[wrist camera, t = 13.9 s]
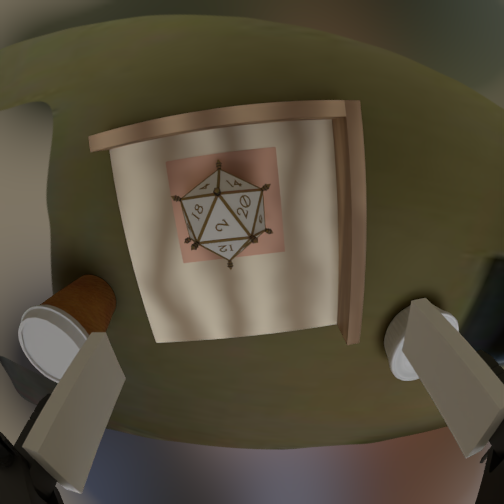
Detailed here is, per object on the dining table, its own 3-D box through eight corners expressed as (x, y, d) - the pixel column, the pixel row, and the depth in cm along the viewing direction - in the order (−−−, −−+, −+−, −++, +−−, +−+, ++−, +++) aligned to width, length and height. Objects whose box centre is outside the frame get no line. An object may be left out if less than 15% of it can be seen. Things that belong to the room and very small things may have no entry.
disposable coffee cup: (85, 246, 32) (29, 293, 21) (142, 299, 34) (108, 364, 23) (54, 293, 34) (7, 344, 23) (105, 339, 37) (71, 400, 25)
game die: (218, 183, 33) (203, 126, 23) (286, 217, 32) (296, 166, 22) (173, 250, 31) (137, 212, 21) (243, 292, 29) (234, 268, 20)
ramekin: (436, 280, 35) (457, 299, 30) (444, 334, 39) (460, 354, 34) (368, 320, 37) (383, 344, 32) (385, 369, 41) (397, 392, 36)
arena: (342, 105, 27) (360, 100, 23) (346, 319, 36) (359, 342, 32) (109, 136, 28) (88, 136, 23) (157, 339, 37) (148, 364, 32)
